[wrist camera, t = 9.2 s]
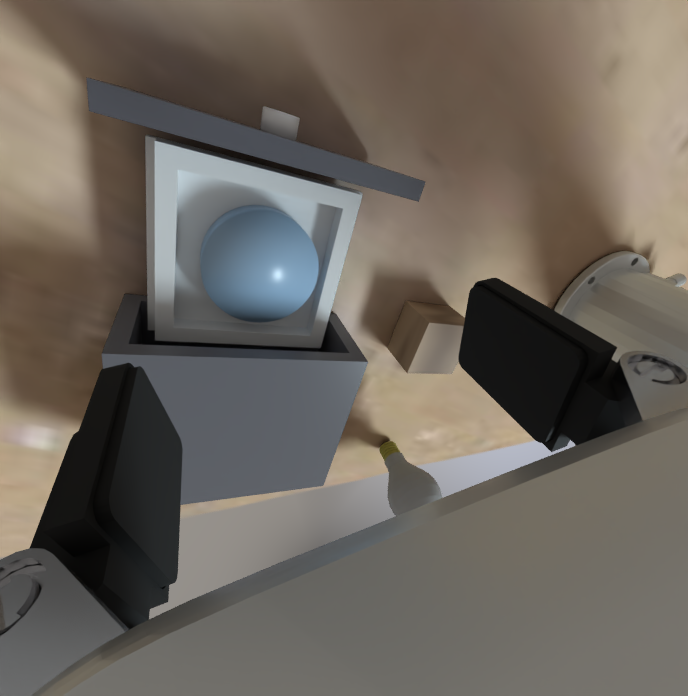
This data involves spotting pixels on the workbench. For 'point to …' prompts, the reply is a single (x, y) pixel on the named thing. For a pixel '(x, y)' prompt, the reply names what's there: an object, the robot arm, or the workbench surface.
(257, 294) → the pale blue dome cap
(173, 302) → the grey drawer
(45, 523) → the robot arm
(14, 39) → the workbench surface
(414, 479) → the light bulb
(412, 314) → the brown block
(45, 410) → the workbench surface
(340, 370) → the box
